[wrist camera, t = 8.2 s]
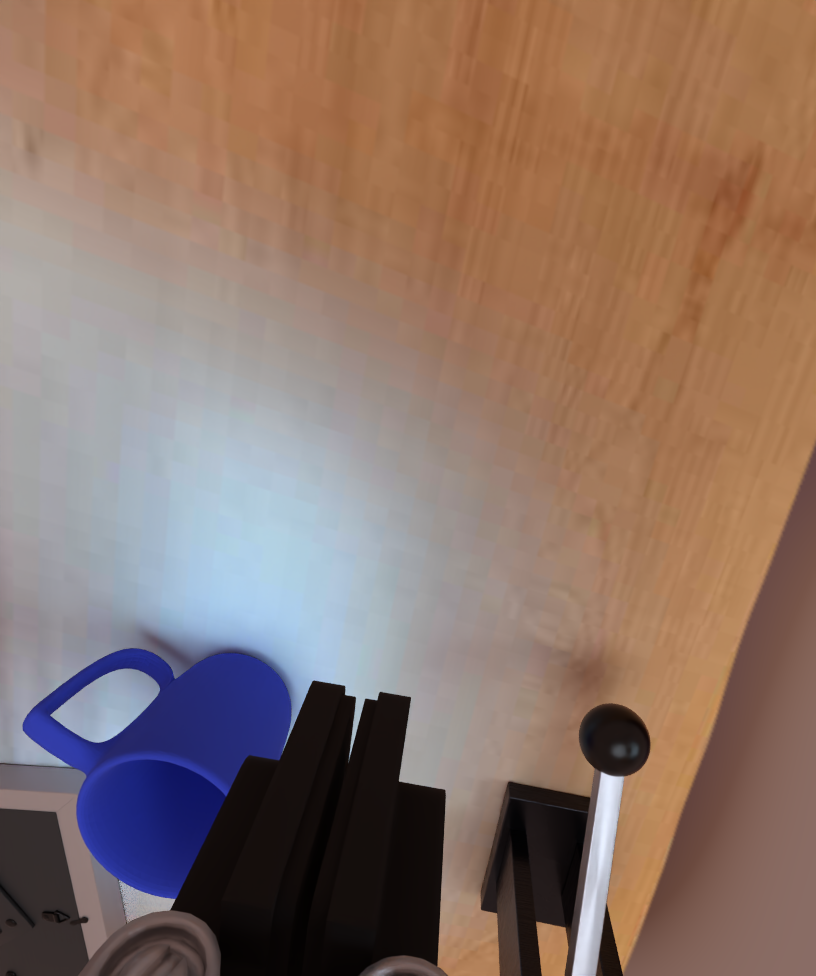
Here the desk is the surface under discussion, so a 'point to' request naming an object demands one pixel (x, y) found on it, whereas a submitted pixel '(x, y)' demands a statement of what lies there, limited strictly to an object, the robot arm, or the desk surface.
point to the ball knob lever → (602, 822)
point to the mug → (166, 760)
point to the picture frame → (49, 877)
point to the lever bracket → (538, 876)
